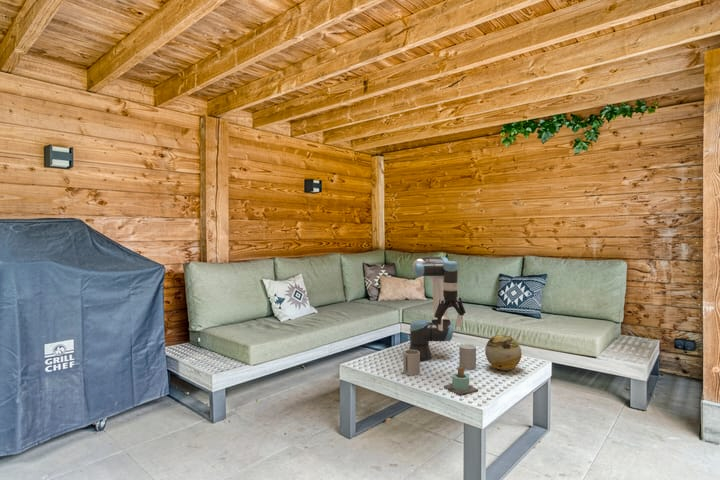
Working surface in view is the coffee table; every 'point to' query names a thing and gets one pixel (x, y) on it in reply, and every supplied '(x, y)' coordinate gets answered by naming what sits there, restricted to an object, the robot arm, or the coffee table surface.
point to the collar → (460, 382)
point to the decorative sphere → (503, 352)
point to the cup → (411, 362)
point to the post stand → (471, 390)
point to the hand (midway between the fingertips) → (450, 328)
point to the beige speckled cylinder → (467, 357)
